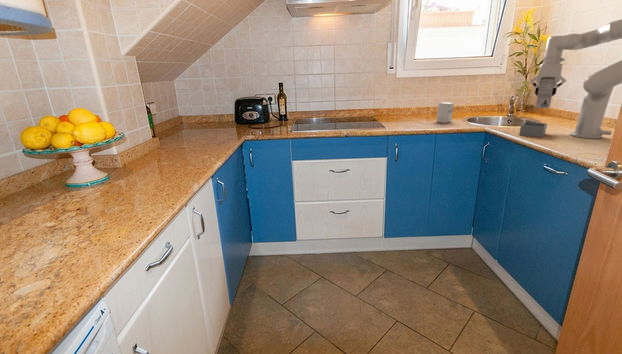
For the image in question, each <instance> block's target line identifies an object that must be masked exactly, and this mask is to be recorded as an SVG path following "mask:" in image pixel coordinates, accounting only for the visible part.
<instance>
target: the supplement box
mask: <svg viewBox="0 0 622 354" xmlns="http://www.w3.org/2000/svg"><path fill="white" fill-rule="evenodd" d="M454 105H455V103H454V102H447V101H446V102H445V101H443V102H438V105H437V106H438V107H437V113H436V120H435V122H437V123H442V124H443V123H444V124H446V123H451V122H452V121H453V120H452V119H453V110H454Z"/></svg>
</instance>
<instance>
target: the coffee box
mask: <svg viewBox="0 0 622 354" xmlns="http://www.w3.org/2000/svg"><path fill="white" fill-rule="evenodd" d="M554 83H555V78H541V80H540V86H539V91H538V95H537V96H536V102H535V107H534V108H536V109H549V108H550V106H551V101H552V97H553V96H552V92H553V88H554Z"/></svg>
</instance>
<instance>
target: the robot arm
mask: <svg viewBox="0 0 622 354" xmlns="http://www.w3.org/2000/svg"><path fill="white" fill-rule="evenodd" d="M617 40H622V18H621V19H617V20H613V21H611V22H608V23H607V24H605V25H603V26H602V27H600V28H597V29H594V30H590V31H587V32H583V33H570V34H566V35H552V36H549V37H548V38H547V41H546V45H545V51H544V57H543V61H542V64H540V66H539V68H538V69H539V70H538V72H537V76H535V77H534V78H532V79H531V80H530V81H529V82H530V83H531V84H532V85H533V87H534V89H535V91H534V95H535V96H536V97H537V96H538V91H539V86H540V80H541V78H555V83H554V88H553V92H552V97H555V96H554V95H556V94H557V90H558V88H559V87H560V86H563V85H564V84H565V83H566V82H567V79H565V78H564V77H563V76H562V69H563V64H562V63H561V62H564V61H565V58H563V57H562V56H563V52H564V50H565V51H566V50H567V51H579V50H583V49H586V48H587V49H588V48H590V47H594V46H597V45H601V44H606V43H611V42H613V41H617ZM560 81H561V82H560ZM621 84H622V59H621V60H618V61H616V62H615V63H614V62H613V63H612V64H609V65H608V66H606V67H604V68H603V69H600V70H598V71H596V72H594V73H592V74H590V75H588V76H587V77H586V78H585V80H584V82H583V87H582V88H583V89H584V91H585V94H584V98H583V100H582V104H581V107H580V110H579V111H580V112H579V115H578V119H577V122H576V125H575V129H574V131H572V132H570V136H572V137H575V138H576V137H577V138H582V139H591V140H592V139H593V140H594V139H595V140H596V139H602V137H603V135H606V136H611V135H612V133H613V132H612V131H611V130H604V129H602V128H601V127H602V124H603V122H604V121H603V120H604V117H605V114H606V110H607V107H608V105H609V101H610V97H611V95H612V93H613V91H614V87H616V86H619V85H621Z"/></svg>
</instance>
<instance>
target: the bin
mask: <svg viewBox="0 0 622 354" xmlns="http://www.w3.org/2000/svg"><path fill="white" fill-rule="evenodd" d="M547 126H548V123H545V122H544V123H543V122H542V123H541V122H533V121H532V122H531V121H524V122H523V123H522V124H521V125H520V129H519V133H518V136H522V137H533V138H543V137H544V135H545V134H546V131H547V128H548V127H547Z"/></svg>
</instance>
